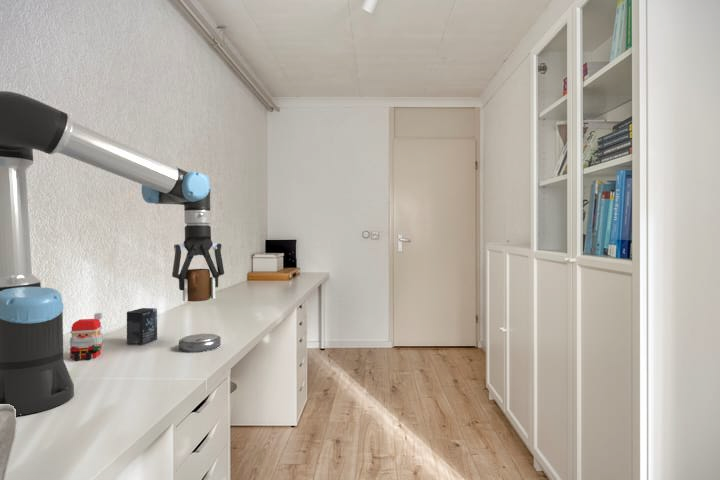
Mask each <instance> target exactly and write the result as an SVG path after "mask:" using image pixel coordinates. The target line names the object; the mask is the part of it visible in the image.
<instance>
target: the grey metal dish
mask: <svg viewBox="0 0 720 480" xmlns="http://www.w3.org/2000/svg"><path fill="white" fill-rule="evenodd" d="M220 345H221V336H219V335H218V334H215V333H214V334H213V333H199V334H198V333H195V334H190V335H187V336H184V337H182V338H180V339H179V340H178V350H179V351H180V352H181V353H204V352H203V351H205V352H208V351H207V350H210V351H213V350H212V349H214V350H216V349H215V348H217V347H219V346H220ZM220 347H221V346H220ZM220 347H219V348H220ZM217 349H218V348H217Z"/></svg>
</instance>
